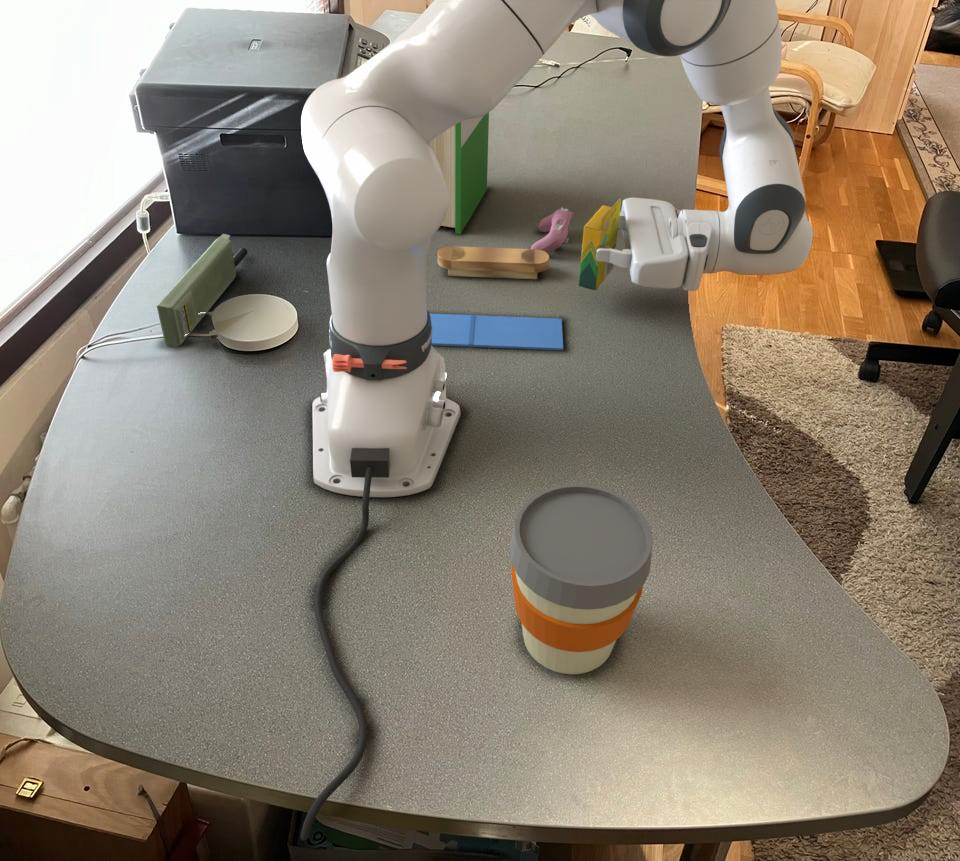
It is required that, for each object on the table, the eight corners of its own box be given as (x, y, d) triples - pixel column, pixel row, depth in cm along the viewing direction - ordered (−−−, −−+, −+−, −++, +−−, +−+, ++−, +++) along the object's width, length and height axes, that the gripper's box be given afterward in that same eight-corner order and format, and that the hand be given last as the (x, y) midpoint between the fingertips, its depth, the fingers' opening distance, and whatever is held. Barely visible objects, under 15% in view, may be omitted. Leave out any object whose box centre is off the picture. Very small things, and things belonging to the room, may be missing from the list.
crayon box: (595, 263, 132) (604, 191, 124) (614, 268, 131) (623, 196, 123) (576, 286, 127) (584, 212, 119) (595, 291, 126) (604, 217, 118)
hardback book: (460, 234, 147) (461, 90, 131) (418, 227, 148) (414, 84, 132) (486, 189, 160) (490, 53, 144) (448, 184, 161) (447, 49, 145)
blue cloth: (563, 350, 122) (563, 347, 121) (420, 345, 122) (420, 342, 122) (561, 320, 127) (561, 318, 127) (425, 315, 128) (425, 312, 127)
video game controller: (551, 268, 142) (573, 235, 137) (527, 254, 141) (549, 221, 136) (559, 239, 149) (581, 207, 144) (536, 225, 148) (557, 193, 144)
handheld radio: (160, 344, 121) (234, 256, 139) (182, 348, 121) (254, 259, 139) (151, 304, 117) (229, 218, 135) (174, 308, 116) (249, 221, 135)
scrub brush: (547, 266, 139) (549, 249, 137) (548, 281, 136) (549, 264, 134) (438, 262, 139) (438, 245, 137) (436, 276, 136) (436, 259, 134)
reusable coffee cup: (479, 621, 86) (482, 517, 77) (576, 566, 92) (590, 463, 82) (558, 715, 79) (573, 613, 69) (659, 649, 84) (686, 546, 75)
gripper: (684, 188, 130) (592, 185, 130) (706, 257, 114) (601, 252, 115) (677, 227, 134) (588, 223, 134) (697, 298, 119) (596, 294, 119)
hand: (594, 237), depth 124 cm, fingers closed on crayon box, 7 cm apart
